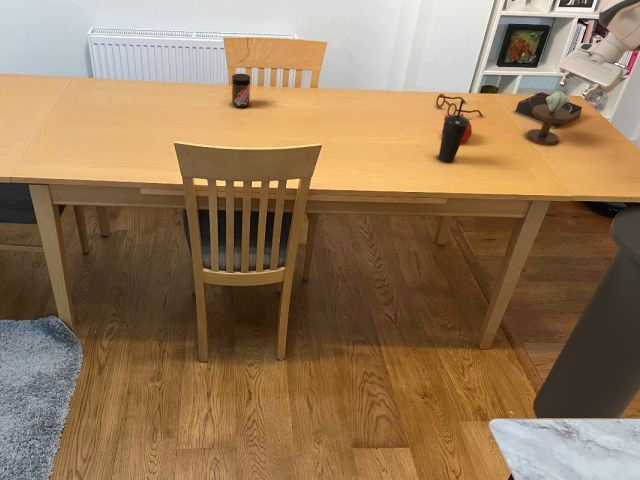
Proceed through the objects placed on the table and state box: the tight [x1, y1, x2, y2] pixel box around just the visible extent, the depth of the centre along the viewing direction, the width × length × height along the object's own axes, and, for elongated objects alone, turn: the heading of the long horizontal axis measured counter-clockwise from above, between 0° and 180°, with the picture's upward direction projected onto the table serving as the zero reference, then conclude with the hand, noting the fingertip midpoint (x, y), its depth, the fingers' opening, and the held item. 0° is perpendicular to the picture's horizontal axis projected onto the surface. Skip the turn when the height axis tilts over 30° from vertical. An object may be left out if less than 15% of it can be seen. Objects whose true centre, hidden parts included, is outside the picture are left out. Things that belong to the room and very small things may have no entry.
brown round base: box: [526, 104, 571, 146], centre depth 202 cm, size 12×12×10 cm
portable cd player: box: [514, 91, 583, 129], centre depth 219 cm, size 16×17×4 cm
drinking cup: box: [438, 99, 470, 164], centre depth 185 cm, size 8×8×20 cm
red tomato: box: [441, 113, 473, 143], centre depth 200 cm, size 10×10×9 cm
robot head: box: [546, 91, 571, 112], centre depth 197 cm, size 8×4×7 cm, turn 88°
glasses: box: [435, 93, 483, 117], centre depth 219 cm, size 13×13×5 cm
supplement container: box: [231, 73, 251, 109], centre depth 214 cm, size 7×7×10 cm
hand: (572, 90), depth 198 cm, fingers open, 8 cm apart
